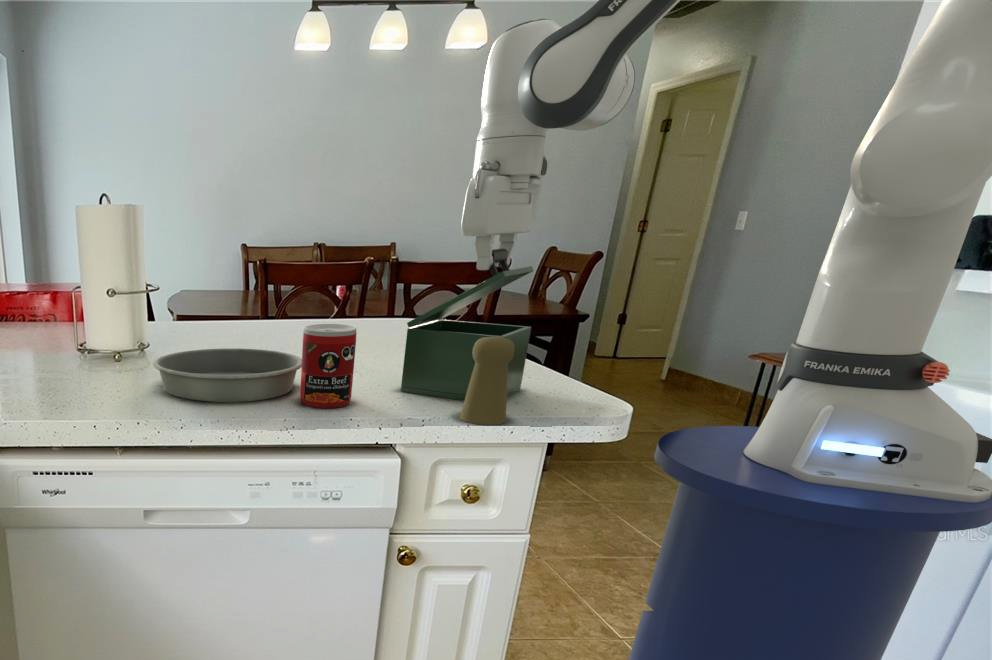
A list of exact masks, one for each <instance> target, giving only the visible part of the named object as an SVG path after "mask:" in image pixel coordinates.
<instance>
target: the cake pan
mask: <svg viewBox="0 0 992 660" xmlns="http://www.w3.org/2000/svg"><path fill="white" fill-rule="evenodd" d="M152 366H153V368H154V369H156V370H157V371H159V374H160V378H161V382H162V387H163V389H164V391H165V392H167V394H170V395H172V396H175V397H179V398H181V399H187V400H191V401H193V400H194V401H200V402H201V401H202V402H214V403H215V402H218V403H240V402H241V403H243V402H256V401H263V400H269V399H274V398H278V397H281V396H284V395H286V394H288V393H289V392H291V391H292V389H293V387H294V382H295V379H296V376H297V375H296V374H297V371H298V370H300V369H302V357H299V356H297V355H296V354H292V353H288V352H283V351H278V350H270V349H261V348H260V349H259V348H241V347H240V348H239V347H238V348H237V347H233V348H230V347H229V348H228V347H225V348H224V347H223V348H221V347H220V348H203V349H202V348H201V349H191V350H183V351H178V352H171V353H168V354H164V355H161V356H159V357H157V358H156V359H154V360H153V361H152Z"/></svg>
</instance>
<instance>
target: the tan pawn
mask: <svg viewBox="0 0 992 660" xmlns="http://www.w3.org/2000/svg"><path fill="white" fill-rule="evenodd" d="M514 351H515V348H514V343H513V341H511V340H510V339H507V338H503V337H484V338H480V339H478V340H477V341H476V343H475V344H474V347H473V352H472V354H473V359H474V360H475V366H474V369H473V373H472V376H471V379H470V383H469V386H468V390H467V393H466V397H465V400H463V405H462V408H461V412H460V415H459V419H460V420H461V421H464V422H465V423H470V424H475V425H485V426H486V425H487V426H494V425H501V424H505V423H507V401H508V400H507V399H508V396H507V369H508V363H509V362H510V361H511V360H512V358H513V356H514Z"/></svg>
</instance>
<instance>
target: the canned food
mask: <svg viewBox="0 0 992 660" xmlns="http://www.w3.org/2000/svg"><path fill="white" fill-rule="evenodd" d="M356 346H357V327H356V326H353V325H348V324H339V323H319V324H318V323H317V324H310V325H306V326H304V328H303V335H302V351H301V359H302V367H301V370H300V371H301V372H300V376H301V377H300V395H299V396H300V401H301V403H302V404H303V405H305V406H307V407H311V408H318V409H319V408H320V409H337V408H343V407H345V406H347V405H349V404H350V401H351V398H352V394H353V393H352V392H353V383H354V371H355V369H354V368H355V359H356Z"/></svg>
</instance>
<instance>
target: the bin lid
mask: <svg viewBox="0 0 992 660" xmlns="http://www.w3.org/2000/svg"><path fill="white" fill-rule="evenodd" d="M492 257H493V263H492V264H493V265H492V268H491V269H489V270H490V274H491V276H492V277H490V278H488V279H486V280H484V281H483V282H481V283H478V284H477V285H475V286H473V287H471V288H468V290H465V291H463V292H462V293H460V294H458V295H457V296H454V297H452V298H450V299H449V300H447V301H445V302H443V303H441V304H440V305H437V306H436V307H434V308H431V309H430V310H428V311H426V312H424V313H423V314H420V315H418V316H417V317H415V318H413V319H411V320H409V321H408V322H406V324H407V327H408V328H411V327H415V326H418V325H422V324H426V323H429V322H433V321H437V320H440V319H441V320H443V319H445V318H446V317H448V316H450V315H452V314H454V313H455V312H457V311H459V310H461V309H463V308H465V307H467V306H469V305H471V304H473V303H475V302H476V301H479V300H481V299H483V298H485V297H487V296H489V295H491V294H492V293H494V292H496V291H498V290H500V289H502V288H504V287H506V286H507V285H509V284H512V283H513V282H515V281H517V280H519V279H521V278H523V277H524V276H527V275H529V274H531V273H532V272H534V271H535V270H534V268H533V266H532V265H530V266H525V267H519V268H515V269H510V267H509V266H508V265H507V262H506V259H507V258H508V251H507V250H506V249H504V248H500V249H499V248H492ZM495 263H500V264H501V267H500V268H501V269H502V271H500V272H499V271H498V267H496V266H495Z"/></svg>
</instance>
